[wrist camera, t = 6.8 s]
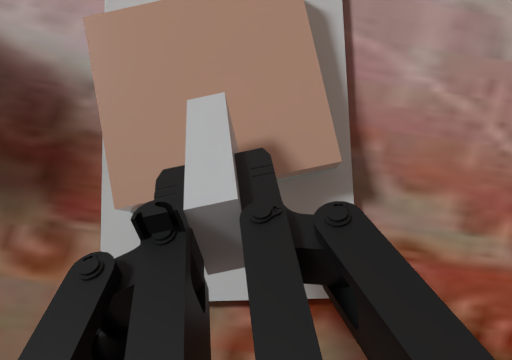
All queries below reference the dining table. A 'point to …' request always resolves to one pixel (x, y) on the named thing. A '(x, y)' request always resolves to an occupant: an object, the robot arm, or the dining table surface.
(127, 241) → the mat
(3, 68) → the dining table surface
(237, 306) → the dining table surface
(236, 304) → the dining table surface
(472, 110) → the dining table surface
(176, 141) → the tile
